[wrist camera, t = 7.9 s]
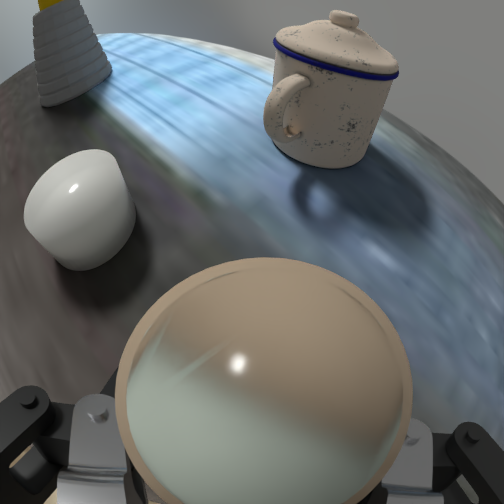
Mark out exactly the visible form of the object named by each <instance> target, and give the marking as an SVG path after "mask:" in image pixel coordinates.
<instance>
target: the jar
mask: <svg viewBox="0 0 504 504" xmlns="http://www.w3.org/2000/svg"><path fill="white" fill-rule="evenodd" d="M412 401H413V389H412V377H411V371H410V366H409V361H408V358H407V355H406V352H405V349H404V346H403V344H402V342H401V340H400V337H399V335H398V333H397V331H396V330H395V328H394V326H393V325H392V323H391V322H390V320H389V319H388V317H387V316H386V315H385V313H384V312H383V311H382V310H381V309H380V307H379V306H378V305H377V304H376V303H375V302H374V301H373V300H372V299H371V298H370V297H369V296H368V295H367V294H365V293H364V292H363V291H362V290H361V289H359V288H358V287H356V286H355V285H354V284H352V283H351V282H349V281H348V280H346V279H344V278H342V277H341V276H339V275H337V274H335V273H333V272H331V271H328V270H326V269H324V268H321V267H319V266H316V265H312V264H309V263H305V262H301V261H296V260H290V259H284V258H264V257H262V258H249V259H241V260H236V261H231V262H226V263H223V264H220V265H217V266H213V267H210V268H208V269H205V270H203V271H201V272H199V273H197V274H194V275H192V276H190V277H189V278H187V279H185V280H184V281H182V282H180V283H179V284H177V285H176V286H174V287H173V288H172V289H171V290H169V291H168V292H167V293H165V294H164V295H163V296H162V297H161V298H160V299H159V300H158V301H157V302H156V303H155V304H154V305H153V306H152V307H151V308H150V309H149V310H148V311H147V312H146V314H145V315H144V316H143V318H142V319H141V320H140V322H139V323H138V324H137V326H136V327H135V329H134V331H133V333H132V335H131V336H130V338H129V340H128V342H127V344H126V347H125V349H124V352H123V354H122V357H121V360H120V364H119V368H118V373H117V377H116V387H115V409H116V418H117V423H118V428H119V432H120V436H121V439H122V441H123V444H124V447H125V449H126V452H127V454H128V456H129V458H130V459H131V461H132V463H133V465H134V467H135V468H136V470H137V471H138V473H139V474H140V475H141V477H142V478H143V479H144V481H145V482H146V483H147V485H148V486H149V487H150V488H151V489H152V490H153V491H154V492H155V493H156V494H157V495H158V496H159V497H160V498H161V499H163V500H164V501H165V502H167V503H168V504H357V503H358V502H359V501H361V500H362V499H363V498H364V497H366V496H367V495H368V494H369V493H370V492H371V491H372V490H373V489H374V488H375V487H376V486H377V484H378V483H379V482H380V481H381V480H382V479H383V477H384V476H385V475H386V473H387V472H388V470H389V469H390V468H391V466H392V465H393V463H394V461H395V459H396V457H397V456H398V454H399V452H400V450H401V447H402V445H403V442H404V440H405V437H406V434H407V431H408V427H409V423H410V418H411V412H412Z"/></svg>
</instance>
